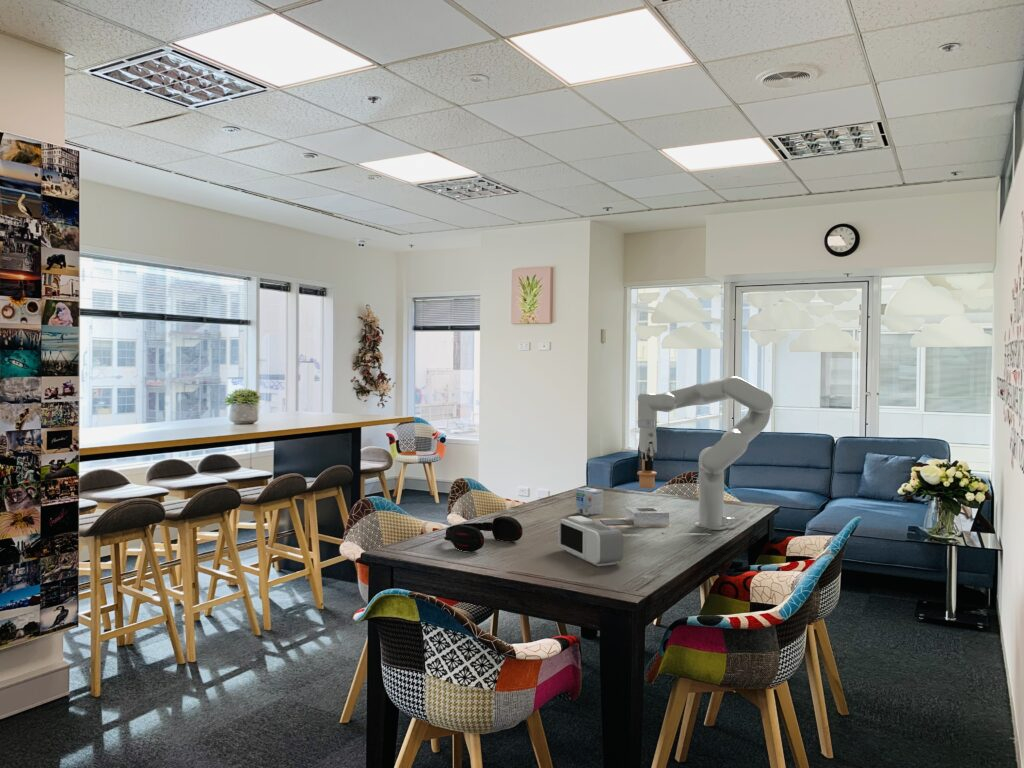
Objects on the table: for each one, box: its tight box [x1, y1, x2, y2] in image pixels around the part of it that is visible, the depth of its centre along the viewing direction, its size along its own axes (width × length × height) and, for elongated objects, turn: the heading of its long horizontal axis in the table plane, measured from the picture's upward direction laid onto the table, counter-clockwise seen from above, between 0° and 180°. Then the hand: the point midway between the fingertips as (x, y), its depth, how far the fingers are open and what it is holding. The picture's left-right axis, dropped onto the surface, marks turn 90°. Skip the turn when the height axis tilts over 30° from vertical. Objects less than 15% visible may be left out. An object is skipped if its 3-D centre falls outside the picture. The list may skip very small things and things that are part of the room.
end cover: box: [636, 459, 658, 489], centre depth 310 cm, size 8×8×11 cm
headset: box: [444, 515, 524, 553], centre depth 272 cm, size 28×26×9 cm
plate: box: [592, 506, 674, 529], centre depth 310 cm, size 28×18×6 cm, turn 96°
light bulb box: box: [575, 486, 604, 517], centre depth 333 cm, size 11×7×11 cm, turn 37°
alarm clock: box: [557, 515, 624, 567], centre depth 255 cm, size 27×9×12 cm, turn 23°
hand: (647, 469), depth 310 cm, fingers closed on end cover, 4 cm apart
